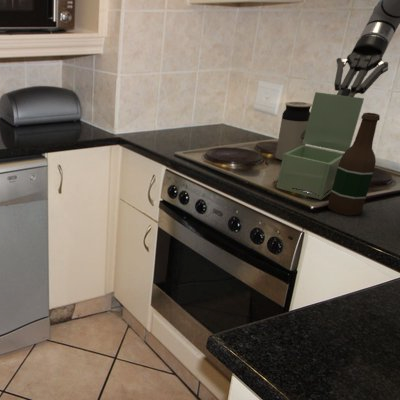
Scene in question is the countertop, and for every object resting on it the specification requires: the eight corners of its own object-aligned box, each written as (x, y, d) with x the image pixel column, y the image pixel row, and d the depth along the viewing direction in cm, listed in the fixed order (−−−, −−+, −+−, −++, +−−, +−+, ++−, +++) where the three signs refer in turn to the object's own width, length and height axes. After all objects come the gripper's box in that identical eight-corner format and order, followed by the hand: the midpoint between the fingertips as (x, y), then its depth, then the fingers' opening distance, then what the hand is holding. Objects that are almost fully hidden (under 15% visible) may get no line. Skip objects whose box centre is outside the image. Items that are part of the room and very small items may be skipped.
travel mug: (269, 157, 158) (278, 102, 152) (287, 154, 161) (297, 100, 154) (289, 163, 151) (299, 106, 145) (308, 160, 154) (319, 104, 147)
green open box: (321, 200, 124) (330, 164, 120) (275, 187, 132) (283, 153, 128) (338, 187, 133) (347, 153, 129) (295, 176, 140) (302, 144, 136)
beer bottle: (355, 205, 121) (383, 111, 112) (367, 217, 114) (398, 118, 105) (321, 202, 123) (346, 109, 113) (331, 214, 116) (359, 116, 106)
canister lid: (363, 98, 123) (364, 98, 124) (315, 92, 131) (316, 92, 131) (347, 152, 128) (348, 152, 129) (302, 143, 136) (303, 142, 137)
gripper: (399, 55, 133) (364, 122, 129) (347, 51, 142) (313, 114, 137) (400, 35, 127) (364, 105, 123) (346, 32, 136) (310, 98, 132)
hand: (337, 110), depth 130 cm, fingers closed
